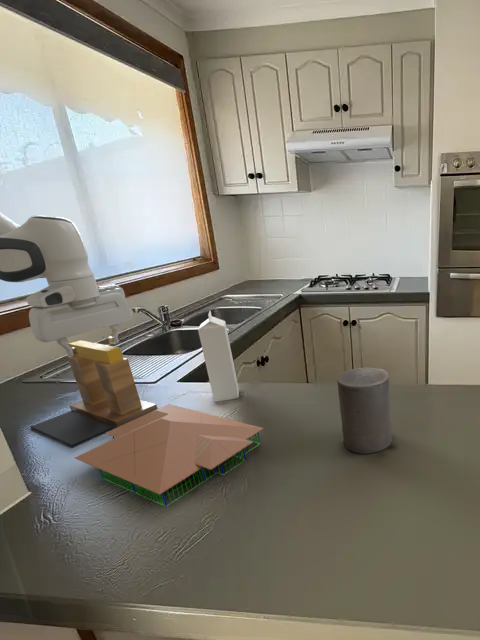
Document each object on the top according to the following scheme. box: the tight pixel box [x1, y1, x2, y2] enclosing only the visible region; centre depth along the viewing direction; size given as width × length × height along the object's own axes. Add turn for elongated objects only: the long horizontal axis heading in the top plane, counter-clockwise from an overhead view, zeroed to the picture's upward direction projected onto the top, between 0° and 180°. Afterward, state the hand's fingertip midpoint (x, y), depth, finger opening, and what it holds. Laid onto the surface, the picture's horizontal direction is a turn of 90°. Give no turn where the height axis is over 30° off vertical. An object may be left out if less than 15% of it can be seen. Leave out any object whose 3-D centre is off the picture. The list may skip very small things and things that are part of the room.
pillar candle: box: [336, 367, 393, 455], centre depth 80 cm, size 10×10×15 cm
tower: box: [67, 355, 159, 428], centre depth 103 cm, size 22×10×14 cm, turn 59°
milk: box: [197, 310, 240, 403], centre depth 105 cm, size 6×6×22 cm
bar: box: [67, 339, 124, 364], centre depth 100 cm, size 18×3×3 cm, turn 59°
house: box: [74, 403, 265, 508], centre depth 81 cm, size 23×33×8 cm
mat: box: [29, 410, 116, 448], centre depth 97 cm, size 20×9×1 cm, turn 59°
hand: (94, 349), depth 100 cm, fingers open, 8 cm apart
